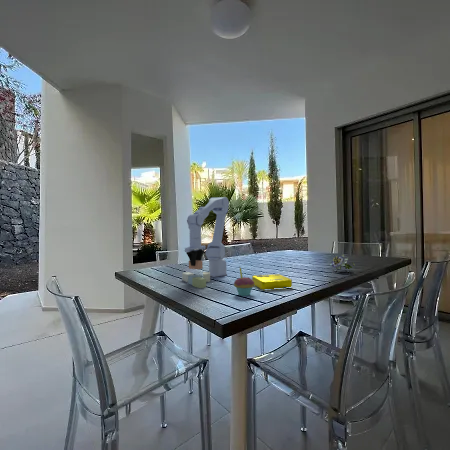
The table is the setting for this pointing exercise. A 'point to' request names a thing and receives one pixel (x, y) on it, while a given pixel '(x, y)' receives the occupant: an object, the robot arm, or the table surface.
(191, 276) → the blue brick
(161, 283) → the table surface
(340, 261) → the passion flower
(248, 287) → the cupcake
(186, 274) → the grey brick
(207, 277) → the cream brick
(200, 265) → the terracotta brick
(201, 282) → the olive brick
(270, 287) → the element tile
